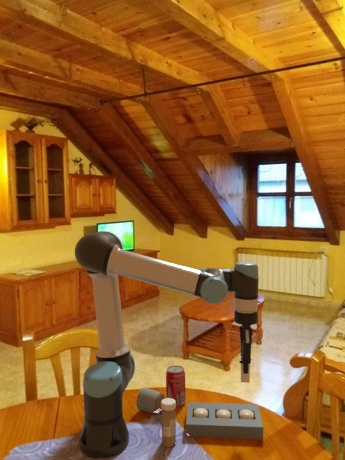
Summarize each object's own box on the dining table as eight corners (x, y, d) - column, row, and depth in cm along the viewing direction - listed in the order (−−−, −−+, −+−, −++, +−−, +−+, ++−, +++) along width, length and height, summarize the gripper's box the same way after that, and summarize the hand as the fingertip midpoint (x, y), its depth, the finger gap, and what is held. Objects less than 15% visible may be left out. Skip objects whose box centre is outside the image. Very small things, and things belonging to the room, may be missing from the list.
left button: (193, 424, 128) (193, 415, 128) (194, 416, 133) (194, 407, 133) (207, 424, 128) (207, 415, 128) (207, 417, 132) (207, 408, 132)
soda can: (189, 401, 146) (188, 367, 146) (179, 409, 140) (178, 374, 140) (173, 396, 150) (172, 363, 149) (162, 404, 144) (162, 370, 143)
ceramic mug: (156, 418, 135) (156, 396, 134) (136, 413, 138) (135, 392, 138) (169, 405, 144) (169, 384, 144) (150, 400, 148) (150, 380, 147)
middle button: (216, 425, 128) (216, 416, 127) (216, 417, 132) (216, 409, 132) (230, 426, 127) (230, 417, 127) (230, 418, 132) (230, 409, 132)
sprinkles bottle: (158, 443, 121) (157, 400, 120) (169, 437, 124) (168, 395, 123) (168, 450, 117) (167, 406, 116) (179, 443, 120) (178, 400, 120)
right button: (239, 425, 127) (239, 416, 127) (238, 418, 131) (238, 409, 131) (254, 426, 126) (254, 417, 126) (252, 418, 131) (252, 409, 131)
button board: (186, 436, 124) (185, 424, 124) (188, 413, 138) (188, 402, 138) (263, 439, 122) (263, 427, 121) (257, 415, 136) (257, 404, 135)
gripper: (260, 316, 120) (259, 391, 121) (255, 305, 133) (254, 373, 134) (235, 315, 121) (234, 390, 122) (233, 305, 134) (232, 372, 135)
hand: (245, 381), depth 128 cm, fingers closed
